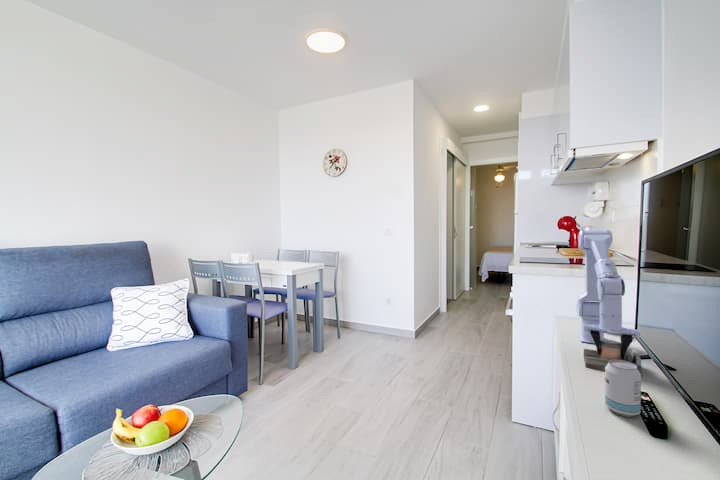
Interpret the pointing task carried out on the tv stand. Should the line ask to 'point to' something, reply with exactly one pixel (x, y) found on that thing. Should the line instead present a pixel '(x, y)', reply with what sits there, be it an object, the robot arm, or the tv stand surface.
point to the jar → (610, 350)
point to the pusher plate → (628, 356)
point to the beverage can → (623, 388)
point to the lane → (596, 363)
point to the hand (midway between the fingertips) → (610, 355)
